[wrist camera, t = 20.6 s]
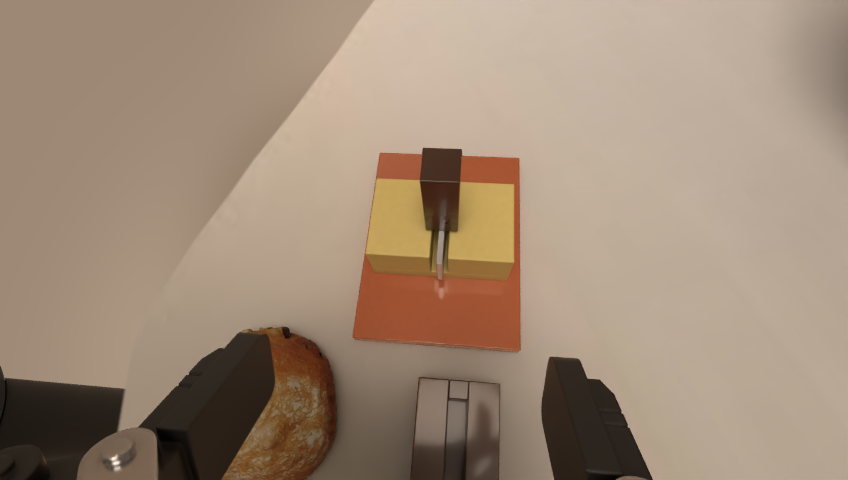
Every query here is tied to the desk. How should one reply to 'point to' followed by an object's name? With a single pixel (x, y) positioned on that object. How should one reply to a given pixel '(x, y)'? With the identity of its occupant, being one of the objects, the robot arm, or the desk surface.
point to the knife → (441, 194)
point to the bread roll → (290, 414)
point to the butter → (464, 250)
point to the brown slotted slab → (456, 430)
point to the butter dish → (443, 282)
